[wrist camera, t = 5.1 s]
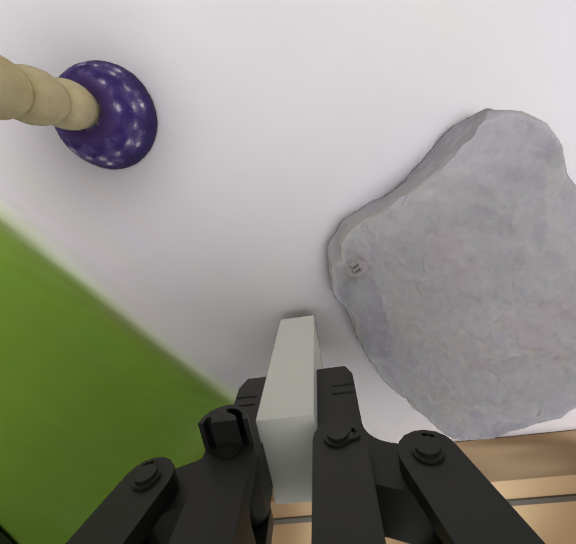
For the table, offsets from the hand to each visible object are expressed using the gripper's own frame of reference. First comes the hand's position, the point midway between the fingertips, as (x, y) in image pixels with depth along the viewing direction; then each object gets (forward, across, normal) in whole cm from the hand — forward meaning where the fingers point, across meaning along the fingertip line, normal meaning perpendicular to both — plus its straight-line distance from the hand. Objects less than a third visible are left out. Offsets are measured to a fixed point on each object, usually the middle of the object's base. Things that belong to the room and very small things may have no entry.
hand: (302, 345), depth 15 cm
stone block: (+2, +7, +1) cm, 8 cm away
